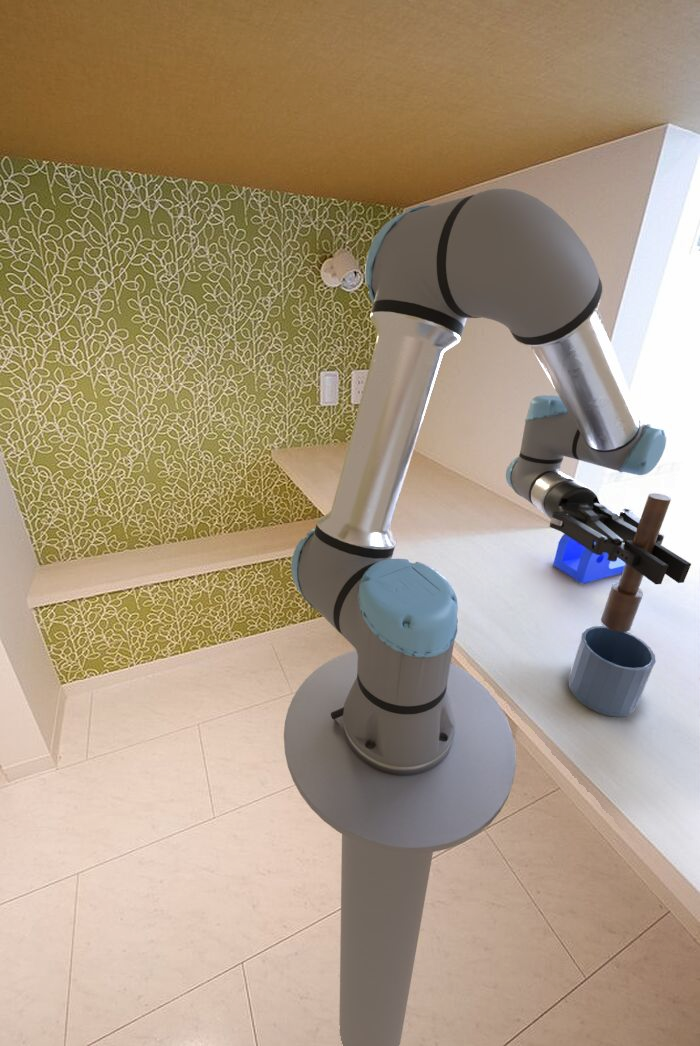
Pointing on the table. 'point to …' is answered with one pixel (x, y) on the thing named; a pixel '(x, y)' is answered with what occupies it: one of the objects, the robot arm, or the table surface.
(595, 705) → the blue faceted pencil cup
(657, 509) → the muddler
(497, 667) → the table surface
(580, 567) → the bracket
